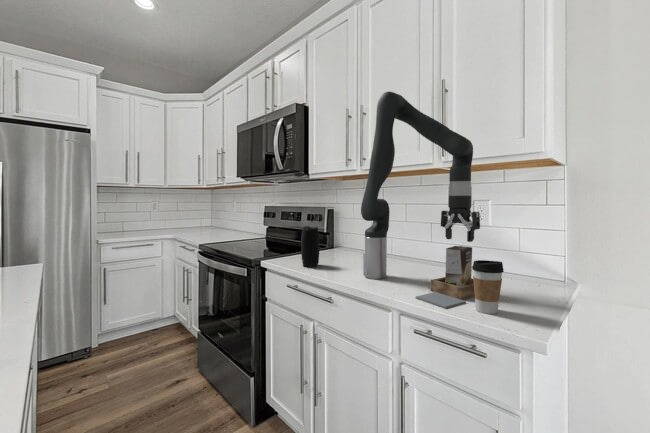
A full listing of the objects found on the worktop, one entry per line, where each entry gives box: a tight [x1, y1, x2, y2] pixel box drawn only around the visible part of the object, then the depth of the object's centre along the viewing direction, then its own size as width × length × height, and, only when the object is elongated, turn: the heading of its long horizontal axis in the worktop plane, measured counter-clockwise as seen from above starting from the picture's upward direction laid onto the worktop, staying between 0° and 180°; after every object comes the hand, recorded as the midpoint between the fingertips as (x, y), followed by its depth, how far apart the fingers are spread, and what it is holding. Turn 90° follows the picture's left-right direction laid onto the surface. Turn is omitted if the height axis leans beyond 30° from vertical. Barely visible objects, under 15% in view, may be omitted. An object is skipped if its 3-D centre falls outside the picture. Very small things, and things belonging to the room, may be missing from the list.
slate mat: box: [415, 291, 467, 310], centre depth 107 cm, size 12×10×1 cm
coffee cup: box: [472, 259, 505, 315], centre depth 97 cm, size 8×8×15 cm
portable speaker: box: [300, 225, 320, 268], centre depth 161 cm, size 9×9×20 cm
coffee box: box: [444, 245, 473, 287], centre depth 116 cm, size 9×6×16 cm
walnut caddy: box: [430, 276, 475, 300], centre depth 117 cm, size 12×14×4 cm
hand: (459, 240), depth 115 cm, fingers open, 8 cm apart
